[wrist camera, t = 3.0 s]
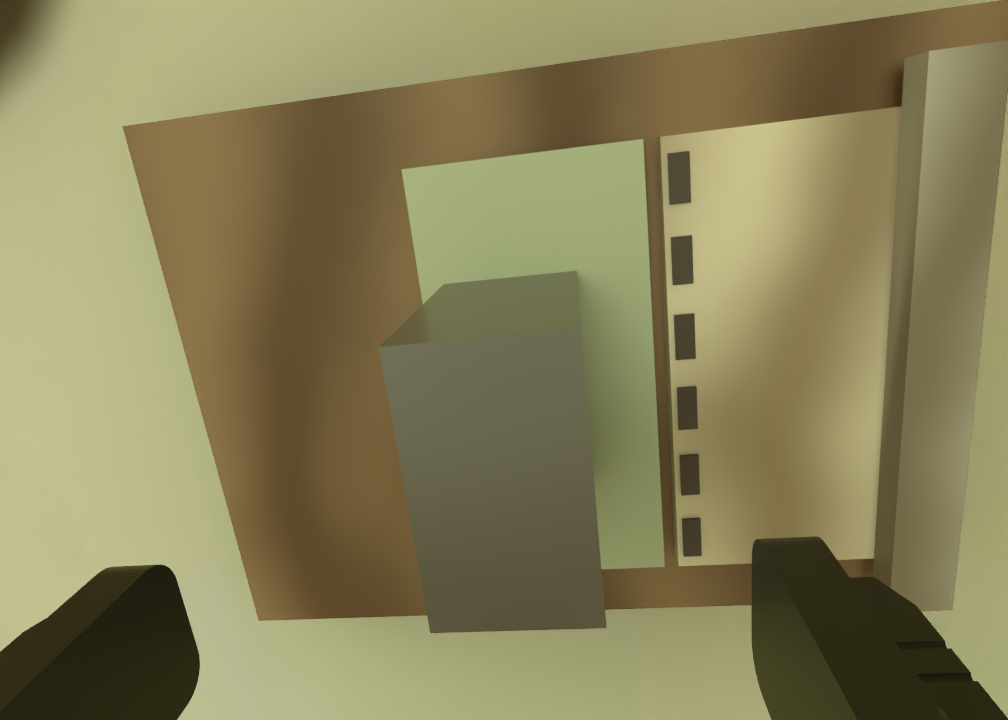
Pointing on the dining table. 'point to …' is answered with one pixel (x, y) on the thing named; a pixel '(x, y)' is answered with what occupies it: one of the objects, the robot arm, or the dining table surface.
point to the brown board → (674, 296)
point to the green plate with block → (528, 387)
